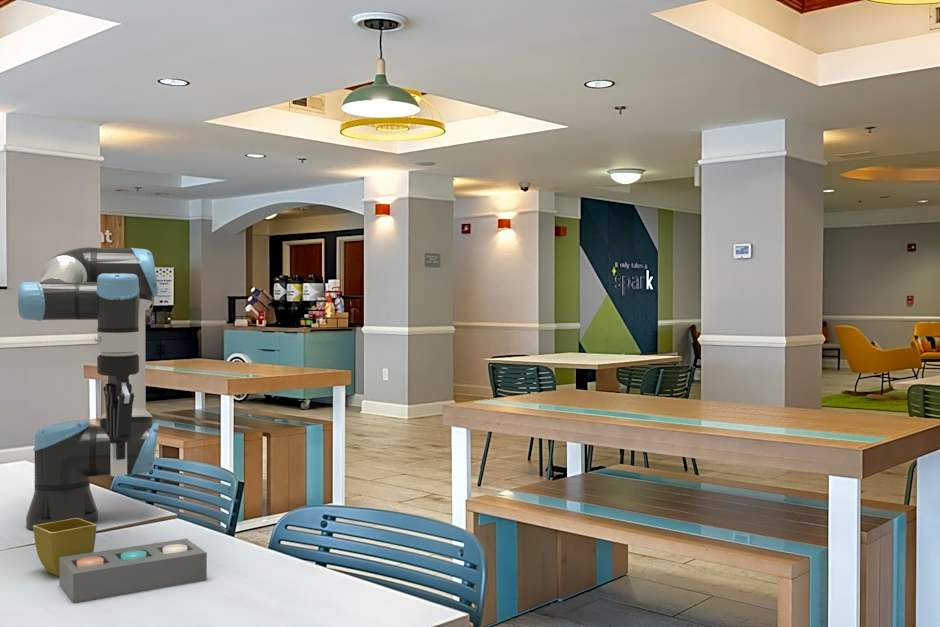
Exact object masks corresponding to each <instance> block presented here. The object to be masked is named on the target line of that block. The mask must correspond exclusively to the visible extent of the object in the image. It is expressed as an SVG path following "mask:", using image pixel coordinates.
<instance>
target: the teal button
mask: <svg viewBox="0 0 940 627" xmlns="http://www.w3.org/2000/svg"><path fill="white" fill-rule="evenodd" d="M143 557H146V551H142V550H133V551H127V552H124V553H122V554H121V561H124V560H130V559H137V558H143Z"/></svg>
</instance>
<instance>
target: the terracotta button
mask: <svg viewBox="0 0 940 627" xmlns="http://www.w3.org/2000/svg"><path fill="white" fill-rule="evenodd" d="M98 564H104V559H103V558H102V557H86V558H82V559H79V560H77V568H79V567H85V566H91V565H98Z"/></svg>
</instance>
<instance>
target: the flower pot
mask: <svg viewBox="0 0 940 627" xmlns="http://www.w3.org/2000/svg"><path fill="white" fill-rule="evenodd" d="M97 527H98V524H96V523H91V522H88V521H85V520H83V519H80V518H73V519H67V520H62V521H56V522H50V523H44V524H39V525H33V530H32V531H33V536H34V537H33V539H34V542H35V543H34V544H35V550H36V553H37V557H38V558H39V560H40V563H41V565H42V566H43V568H44V570H46V571H47V572H48V573H50V574H53V575H54V576H57V577H59V557H65V556H72V555H79V554H85V553H92V552H94V550H95V543H96V537H97V536H96V535H97Z"/></svg>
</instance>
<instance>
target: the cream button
mask: <svg viewBox="0 0 940 627" xmlns="http://www.w3.org/2000/svg"><path fill="white" fill-rule="evenodd" d="M182 551H187V545H184V544H173V545H168V546H165V547H163V554H169V553H175V552H182Z"/></svg>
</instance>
